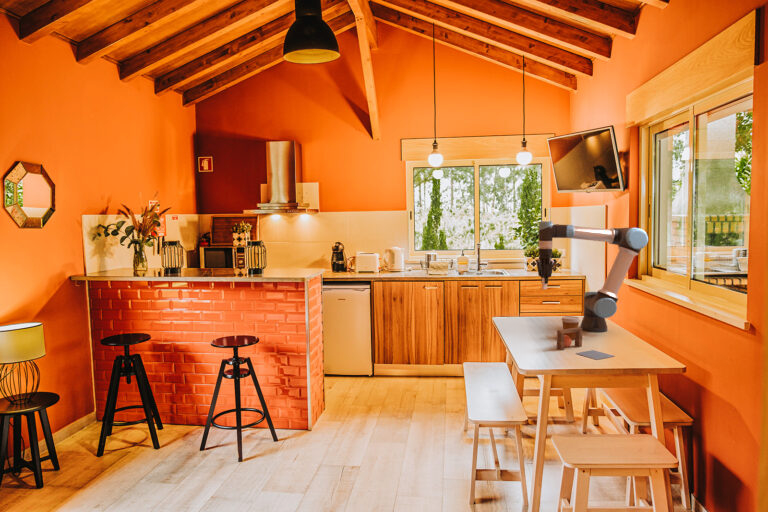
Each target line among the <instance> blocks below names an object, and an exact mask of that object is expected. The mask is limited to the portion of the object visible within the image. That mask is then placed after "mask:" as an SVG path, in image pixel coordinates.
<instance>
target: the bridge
mask: <svg viewBox="0 0 768 512" xmlns="http://www.w3.org/2000/svg"><path fill="white" fill-rule="evenodd" d="M571 332H575V340H574V347H577V346H578V347H577V348H582V347H583V330H582V328H580V327H579V326H578V327H577V328H570V329H563V328H562V329H557V330H556V350H559V351H563V350H565V347H564V333H571Z"/></svg>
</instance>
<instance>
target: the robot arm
mask: <svg viewBox="0 0 768 512" xmlns="http://www.w3.org/2000/svg"><path fill="white" fill-rule="evenodd" d="M538 224H539V225H538V259H535V263H536V266H537V273H538V274H537V275H538V277H540V278H541V279H540V280H541V289H542V290H548V283H549V278H552V275H553V269H554V265H555V263H556V261H555V260H553V259H552V256H553V239H556V238H557V239H573V240H582V241H583V240H584V241H592V242H593V241H594V242H604V243H605V242H606V243H608V244H610V245H616V246H617V248H618V252H617V255H616V258H615V259H614V261H613V263H612V266H611V268H610V270H609V271H608V275H607V276H606V279H605V281H604V283H603V285H602V288H601V289H598V290H597V291H586V292H584V294H583V295H584V296H583V298H584V299H583V300H584V301H583V304H584V305H583V318H582V320H581V323H580V327H579V328H582V331H585V332H593V333H604V332H608V325H607V321H606V319H607V318H611V317H612V316H614V315H615V314H616V312H617V310H618V306H617V302H618V300H619V295H618V293H619V291H620V289H621V287H622V285H623V283H624V280H625V278H626V276H627V273H628V271H629V270H630V267H631V265H632V263H633V260H634V258H635V257H636V256H638V255H639V254H640V252H641V251H642V249H643V248H645V247H646V246H647V244H648V242H649V236H648V234H647V232H646V231H645V230H644V229H642V228H639V227H610V228H600V227H590V226H589V227H588V226H577V225H573V224H557V223H556V224H554V222H553V221H552V220H551V221H544V220H543V221H540V222H539V223H538Z"/></svg>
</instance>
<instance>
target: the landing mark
mask: <svg viewBox="0 0 768 512" xmlns="http://www.w3.org/2000/svg"><path fill="white" fill-rule="evenodd" d="M575 353H576V354H575V355H578V354H579V355H578V356H581V355H582V357H585V358H588V357H589V359H592V360H596V361H598V359H599V360H604V358H605V359H609V358H608V357H610V358H615V357H614V356H615V355H613V354H609V353H605V352H602V351H598V350H594V349H592V350H591V349H590V350H586V351H580V352H575Z"/></svg>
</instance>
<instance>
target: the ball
mask: <svg viewBox="0 0 768 512" xmlns="http://www.w3.org/2000/svg"><path fill="white" fill-rule="evenodd" d="M572 342H573V340H571V338H570V337H569V336H567V335H564V348H568V347H570V346H571V344H572Z"/></svg>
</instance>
